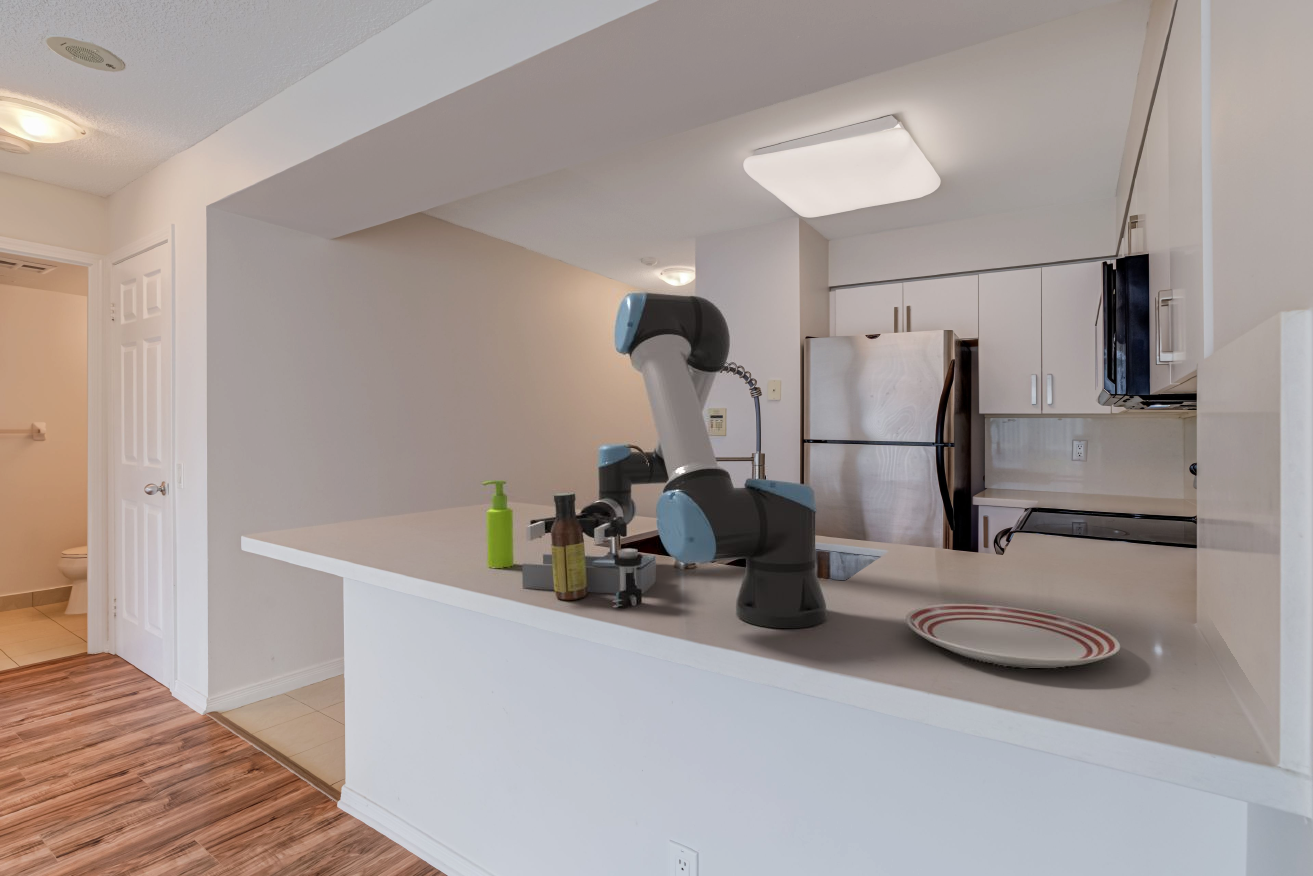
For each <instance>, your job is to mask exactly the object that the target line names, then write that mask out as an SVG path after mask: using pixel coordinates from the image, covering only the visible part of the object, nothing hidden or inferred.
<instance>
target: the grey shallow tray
mask: <svg viewBox="0 0 1313 876" xmlns="http://www.w3.org/2000/svg"><path fill="white" fill-rule="evenodd" d="M603 556H604V555H602V556H601V555H585V564H586V578H587V593H598V594H614V595H616V593H617V592H619V591H620V590H619V588H620V568H619V566H602V565H592V562H593V561H595V560H597V559H599V558H601V557H603ZM656 563H657V561H656V558H655V559H654V560H652V561H650V562H649V563H647V564H646V565H644V566H642V567H636V584H637V588H638V589H641V590H642V595H643V594H645V593H646V592H647V590H649V589H650V588H651V587H653V586H654V584H655V583H657V579H656V577H657V576H656V574H657V571H656V567H657V566H656ZM521 569H522V570H521V571H522V573H521V575H522V576H521V577H522V589H529V590H530V589H532V590H548V591H549V590H551V591H555V590H554V578H553V562H552V553H543V554H542V563H529V562H528V563H526V562H523V563H522V568H521Z"/></svg>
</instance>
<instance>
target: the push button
mask: <svg viewBox="0 0 1313 876" xmlns="http://www.w3.org/2000/svg"><path fill="white" fill-rule="evenodd" d="M615 554H616V555H614V556H613V558H614V559H615V565H617V566H619V568H620V588H619V590H620V591H619V592H617V593H616V594H615V597H616V598H615V599H614V600H612V603H613V602H614V603H616V604H615V605H613V606H612V607H613V608H617V607H618V608H622V609H626V608H628V607H629V608H630V607H632V606H633V607H634V606H637V605H641V604H642V601H643V600H642V599H643V597H642V596H643V594H642V590H641V589H638V588H637V584H636V567H638V565H640V564H641V559H642V558H643V555H644V554H641V553H638V549H637V548H630V547H629V548H628V547H627V548H621V549H618V550H617V553H615Z"/></svg>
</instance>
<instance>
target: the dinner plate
mask: <svg viewBox="0 0 1313 876" xmlns="http://www.w3.org/2000/svg"><path fill="white" fill-rule="evenodd" d="M905 623H906V625H907V626H908V627H909V628H910V629H911V630H912V631H913V632H915V633H916V634H917V635H919V636H920V637H922V638H924V639H926V640H927V641H928V642H930V643H932V644H935V645H937V646H939V647H941V648H943V649H946V650H948V651H950V652H952V653H954V654H956V653H957V654H956V655H958V654H960V655H959V656H961V655H962V657H964V656H965V657H964V658H967V657H969V658H968V659H970V658H972V659H971V660H973V659H975V660H974V661H977V660H979V661H978V662H981V661H983V662H982V663H985V662H988V663H987V664H989V663H994V664H993V665H995V664H998V665H997V666H1000V665H1006V666H1005V667H1007V666H1013V667H1012V668H1015V667H1021V668H1020V669H1027V668H1054V669H1057V668H1056V667H1062V668H1066V667H1065V666H1068V667H1074V666H1080V665H1087V664H1092V663H1094V662H1100V661H1102V660H1104V659H1107V658H1109V657H1111V656H1114V655H1115V654H1118V652H1119V651H1120V649H1121V644H1120V642H1119V640H1118V639H1117V638H1116V637H1115V636H1113V635H1112V634H1110V633H1108V632H1107V631H1104V630H1102V629H1100V628H1099V627H1095V626H1093V625H1090V624H1088V623H1085V622H1082V621H1079V620H1076V619H1072V618H1068V617H1065V616H1060V615H1056V614H1052V613H1048V612H1042V611H1037V610H1032V609H1031V610H1030V609H1024V608H1018V607H1010V606H1003V605H1002V606H1001V605H993V604H992V605H991V604H990V605H989V604H973V603H972V604H971V603H970V604H969V603H945V604H944V603H943V604H933V605H929V606H922V607H918V608H916V609H913V610H911V611H909V612H908V613H907V614H906V615H905Z"/></svg>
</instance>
